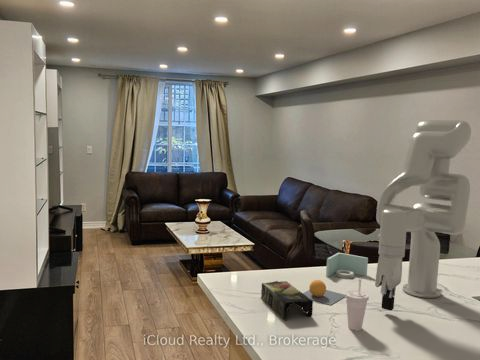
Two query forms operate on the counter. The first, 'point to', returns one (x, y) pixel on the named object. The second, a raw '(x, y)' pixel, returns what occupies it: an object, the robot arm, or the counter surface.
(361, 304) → the smoothie
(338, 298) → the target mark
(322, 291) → the ball
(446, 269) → the counter surface
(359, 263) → the right angle wall
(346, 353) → the counter surface
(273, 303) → the juice carton
